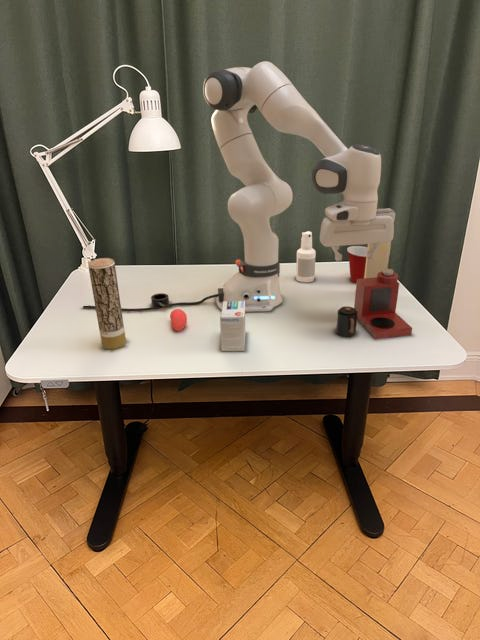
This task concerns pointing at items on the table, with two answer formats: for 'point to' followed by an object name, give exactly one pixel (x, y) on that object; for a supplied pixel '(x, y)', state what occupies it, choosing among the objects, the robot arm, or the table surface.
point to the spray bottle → (305, 259)
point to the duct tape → (160, 300)
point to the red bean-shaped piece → (178, 319)
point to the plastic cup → (357, 262)
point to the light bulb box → (232, 326)
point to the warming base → (384, 318)
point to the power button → (388, 272)
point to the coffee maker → (365, 294)
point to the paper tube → (107, 302)
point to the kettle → (346, 322)
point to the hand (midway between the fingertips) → (354, 259)
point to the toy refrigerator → (377, 260)
